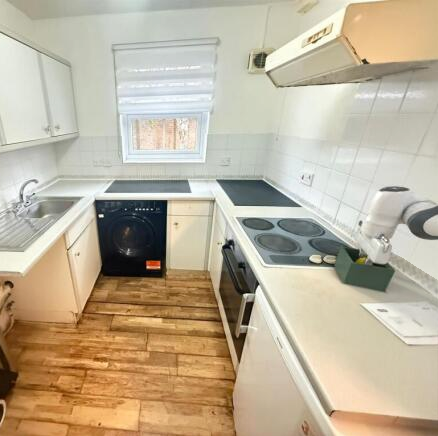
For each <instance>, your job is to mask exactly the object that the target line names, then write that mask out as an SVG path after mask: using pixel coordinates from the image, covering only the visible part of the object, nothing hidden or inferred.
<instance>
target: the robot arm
mask: <svg viewBox="0 0 438 436" xmlns="http://www.w3.org/2000/svg"><path fill="white" fill-rule="evenodd" d="M357 225H358V226H357V228H356V231H355V234H354V240H355V242H356V243H357V244H358V245H359V249H360V254H359V257H360V258H366V256H367V255H368V257H367V258H368V259H367V260H365V261H364V264H366V265H372V263H373V262H374V263H378V264H386V263H387V262H388V263H389V259H390V257H391V253H392V250H393V245H392V243H390V240H391V239H393V237H394V234H395V232H396V231H397V228H398V225H405V226H406V227H407V228H408V229H409V231H410V233H411V234H412V235H413V236H414V237H417V238H419V239H422V240H427V241H438V203H437V202H435V201H433V200H432V199H428V198H426V197H422V196H421V195H418V194H417V193H415V192H414V191H412V190H411V189H410V188H408V187H406V186H398V185H397V186H396V185H395V186H394V185H393V186H392V185H391V186H385V187H381V188H380V189H379V190H377V192H376V193H375V195H374V197H373V198H372V200H371V203H370V204H369V207H368V214H367V215H366V216H365V218H364V219H359V220H358V221H357ZM366 254H367V255H366Z"/></svg>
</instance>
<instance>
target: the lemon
mask: <svg viewBox="0 0 438 436" xmlns="http://www.w3.org/2000/svg"><path fill="white" fill-rule="evenodd" d="M365 260H367V258H360V259H358V260H357V261H356V262H355V263H360V264H364V261H365ZM372 266H373V263H372Z"/></svg>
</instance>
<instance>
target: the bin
mask: <svg viewBox="0 0 438 436" xmlns="http://www.w3.org/2000/svg"><path fill="white" fill-rule="evenodd" d="M359 254H360V248H353V247H350V246H349V247H347V246H340V248H339V251H338V254H337V256H336V259H335V262H334V264H333V265H334V266H333V267H334V269H335V270H336V272H337V274H338V276H339V278H340V281H342V284H344V285H349V286H354V287H359V288H364V289H368V290H373V291H378V292H383V293H385V292H386V290H387V288H388V286H389V284H390V282H391V280H392V278H393V276H394V274H395V272H396V270H395V269H394V267H393V266H391V264H390V263H389V261H388V262H387V263H386V264H378V263H374V262H373V266H372V265H366V264H360V263H355V262H356V261H357V260H358V259H360V257H359ZM366 255H367V254H366ZM367 257H368V255H367V256H366V258H367ZM367 259H368V258H367Z"/></svg>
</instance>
